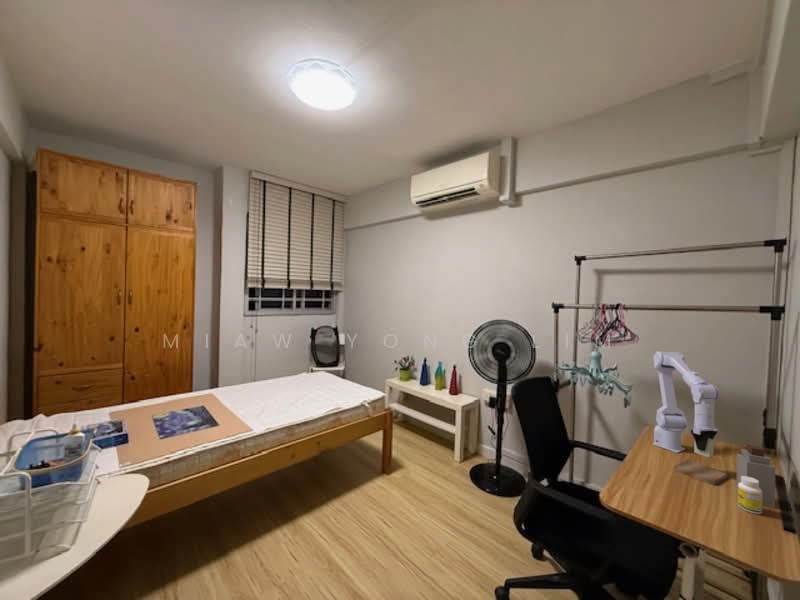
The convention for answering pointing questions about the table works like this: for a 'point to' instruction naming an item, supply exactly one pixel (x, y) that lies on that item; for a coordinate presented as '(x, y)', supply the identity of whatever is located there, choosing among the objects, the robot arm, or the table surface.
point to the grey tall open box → (758, 472)
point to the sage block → (709, 448)
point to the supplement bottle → (750, 495)
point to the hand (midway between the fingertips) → (703, 448)
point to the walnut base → (701, 472)
